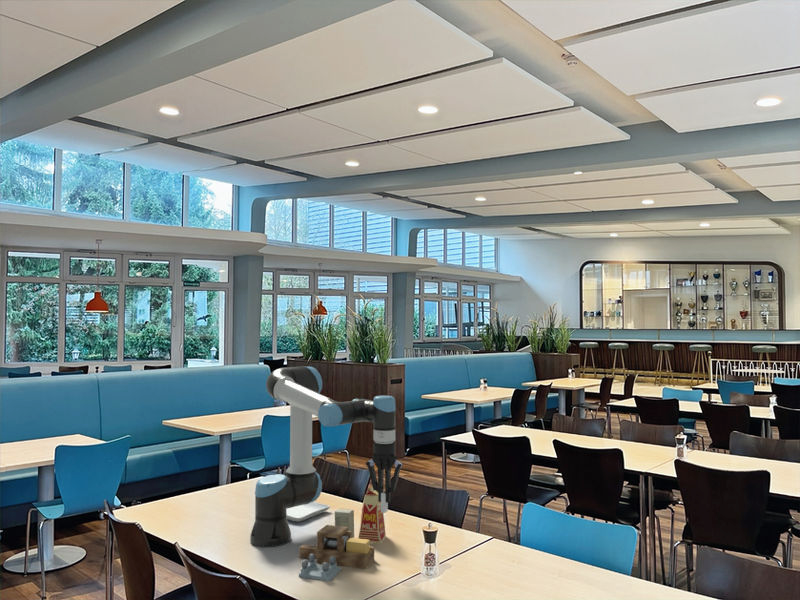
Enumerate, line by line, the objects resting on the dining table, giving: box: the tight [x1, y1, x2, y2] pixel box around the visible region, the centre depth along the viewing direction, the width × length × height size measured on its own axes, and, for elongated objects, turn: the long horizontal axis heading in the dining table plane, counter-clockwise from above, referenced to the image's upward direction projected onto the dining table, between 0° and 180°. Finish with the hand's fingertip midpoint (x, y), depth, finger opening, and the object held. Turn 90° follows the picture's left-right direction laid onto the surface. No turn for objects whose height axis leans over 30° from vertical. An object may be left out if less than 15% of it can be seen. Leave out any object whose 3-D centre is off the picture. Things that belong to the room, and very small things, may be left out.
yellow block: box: [346, 537, 371, 554], centre depth 218 cm, size 7×4×4 cm, turn 73°
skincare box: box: [334, 508, 355, 538], centre depth 237 cm, size 6×4×12 cm
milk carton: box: [357, 486, 386, 545], centre depth 242 cm, size 9×9×20 cm
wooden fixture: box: [298, 524, 375, 570], centre depth 221 cm, size 26×8×10 cm, turn 73°
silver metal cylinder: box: [324, 536, 350, 551], centre depth 221 cm, size 10×5×5 cm, turn 73°
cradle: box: [298, 554, 342, 582], centre depth 209 cm, size 11×9×5 cm
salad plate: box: [286, 501, 331, 523], centre depth 272 cm, size 21×21×3 cm
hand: (384, 511), depth 216 cm, fingers closed
